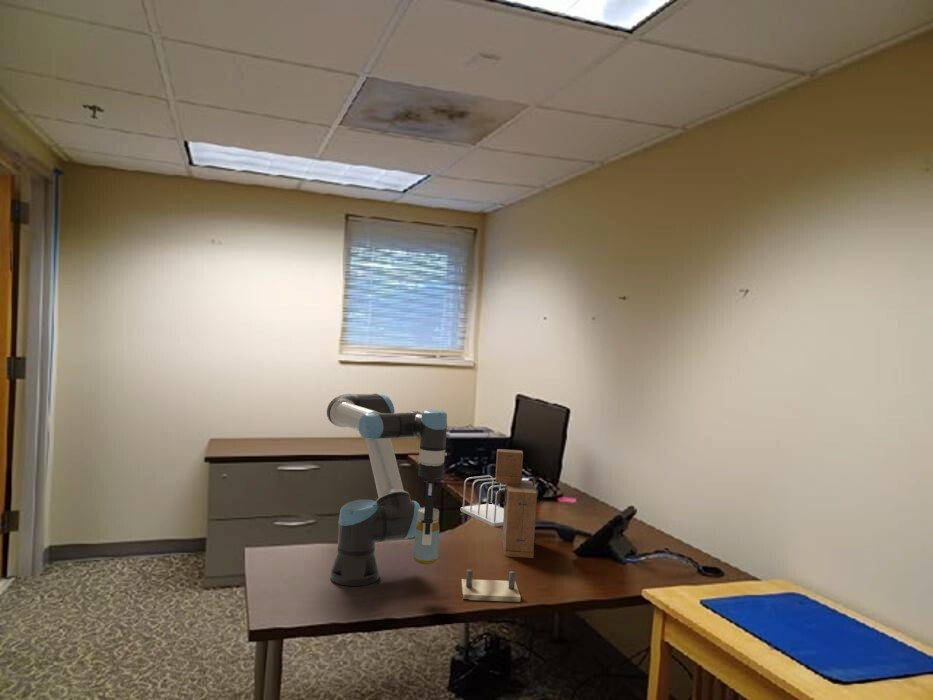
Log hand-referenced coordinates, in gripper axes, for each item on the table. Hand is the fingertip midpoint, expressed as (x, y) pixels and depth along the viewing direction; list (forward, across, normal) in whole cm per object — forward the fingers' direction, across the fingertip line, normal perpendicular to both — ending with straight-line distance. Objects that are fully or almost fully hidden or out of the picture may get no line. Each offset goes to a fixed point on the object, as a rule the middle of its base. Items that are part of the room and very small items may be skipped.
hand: (426, 540), depth 187 cm
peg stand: (+17, +4, -20) cm, 27 cm away
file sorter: (+18, +87, -29) cm, 93 cm away
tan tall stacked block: (+17, +48, -33) cm, 61 cm away
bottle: (+6, 0, 0) cm, 6 cm away
